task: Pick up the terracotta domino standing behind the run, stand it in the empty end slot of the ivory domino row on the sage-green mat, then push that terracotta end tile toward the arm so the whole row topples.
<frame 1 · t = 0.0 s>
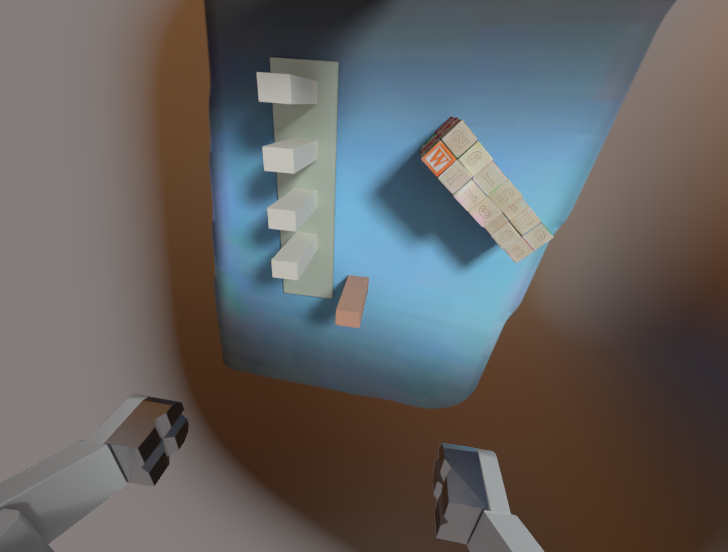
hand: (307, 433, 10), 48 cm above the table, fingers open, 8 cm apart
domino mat: (307, 197, 56), on the table
domino 3: (306, 198, 56), point 1 cm above the table, touching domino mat
stack of blocks: (476, 183, 52), on the table
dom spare: (358, 283, 63), on the table
domino 4: (306, 240, 59), point 1 cm above the table, touching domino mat
domino 2: (305, 148, 52), point 1 cm above the table, touching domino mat
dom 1: (304, 91, 48), point 1 cm above the table, touching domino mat
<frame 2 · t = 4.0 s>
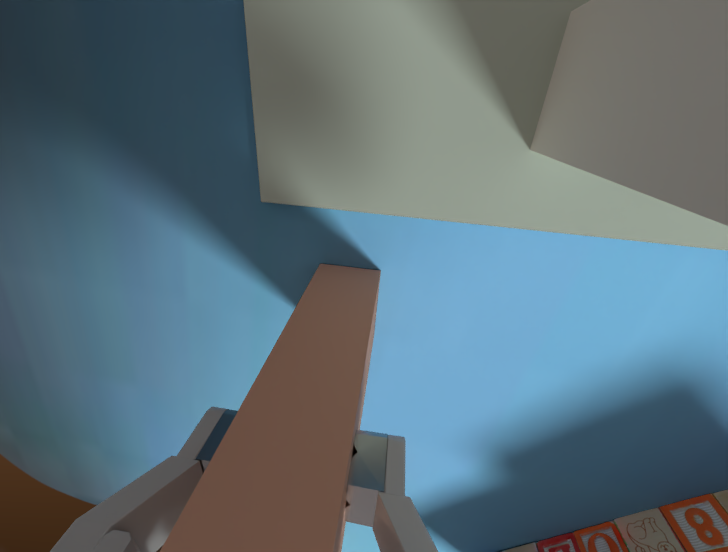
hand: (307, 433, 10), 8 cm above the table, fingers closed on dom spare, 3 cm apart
stack of blocks: (611, 539, 24), on the table
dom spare: (348, 301, 17), on the table, touching gripper
domino 4: (595, 90, 11), point 1 cm above the table, touching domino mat
when the fingers open (9 cm above the table, at t = 10.5 s): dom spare stays where it is, resting on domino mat.
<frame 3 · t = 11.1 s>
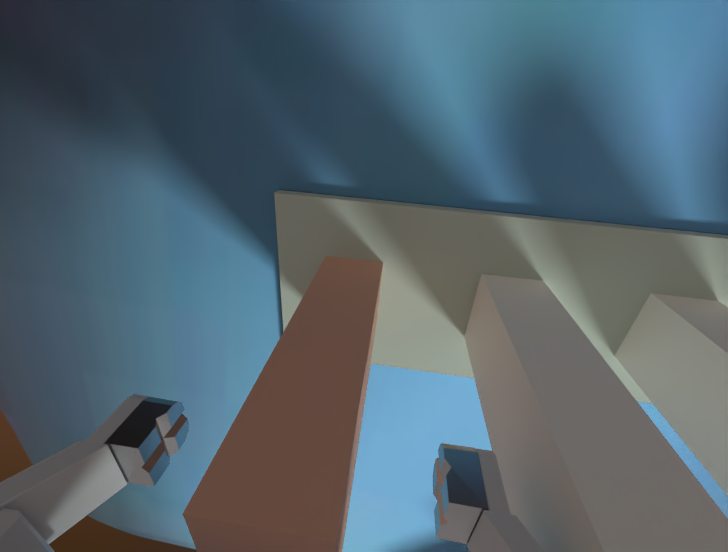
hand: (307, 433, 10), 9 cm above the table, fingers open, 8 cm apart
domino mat: (654, 323, 17), on the table
domino 3: (662, 330, 16), point 1 cm above the table, touching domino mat
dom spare: (352, 292, 18), point 1 cm above the table, touching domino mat
domino 4: (501, 310, 17), point 1 cm above the table, touching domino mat, gripper
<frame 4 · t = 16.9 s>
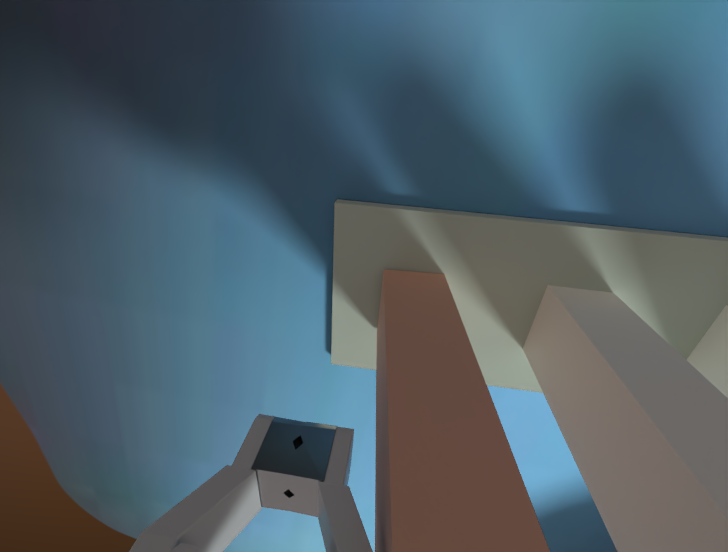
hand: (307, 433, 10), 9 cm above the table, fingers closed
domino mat: (723, 335, 16), on the table
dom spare: (408, 305, 17), point 1 cm above the table, touching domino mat
domino 4: (564, 322, 16), point 1 cm above the table, touching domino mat
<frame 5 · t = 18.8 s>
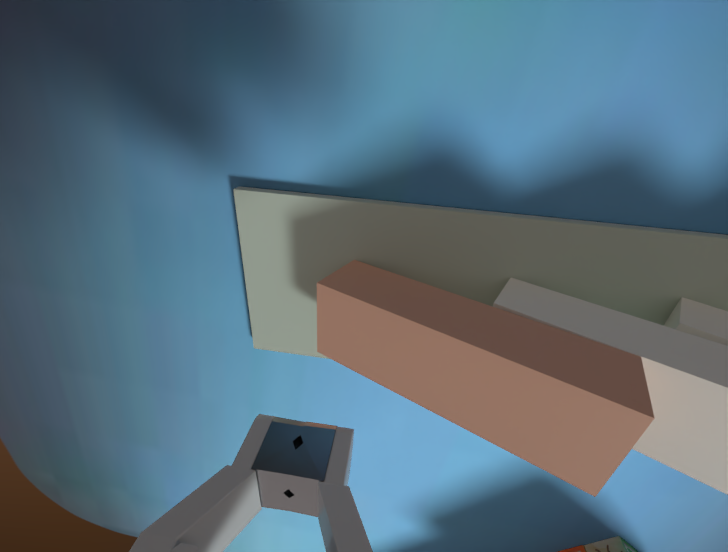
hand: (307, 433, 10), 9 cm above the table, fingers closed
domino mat: (616, 318, 17), on the table
domino 3: (657, 343, 15), point 2 cm above the table, tilted 54°
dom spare: (335, 305, 16), point 2 cm above the table, tilted 65°, touching domino 4, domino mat
domino 4: (491, 324, 16), point 2 cm above the table, tilted 62°, touching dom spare, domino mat
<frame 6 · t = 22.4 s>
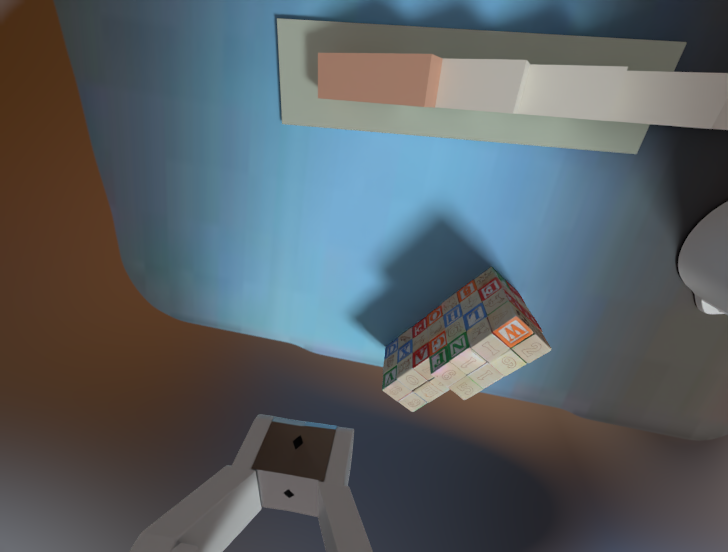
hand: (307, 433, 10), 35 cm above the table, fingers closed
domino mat: (460, 88, 35), on the table
domino 3: (476, 88, 33), point 2 cm above the table, tilted 69°, touching domino 2, domino 4, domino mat
stack of blocks: (447, 320, 50), on the table
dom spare: (326, 77, 34), point 2 cm above the table, tilted 67°, touching domino 4, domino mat
domino 4: (399, 82, 34), point 2 cm above the table, tilted 68°, touching domino 3, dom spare, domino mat
domino 2: (561, 94, 32), point 2 cm above the table, tilted 67°, touching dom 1, domino 3, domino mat
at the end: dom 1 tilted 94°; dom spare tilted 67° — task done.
